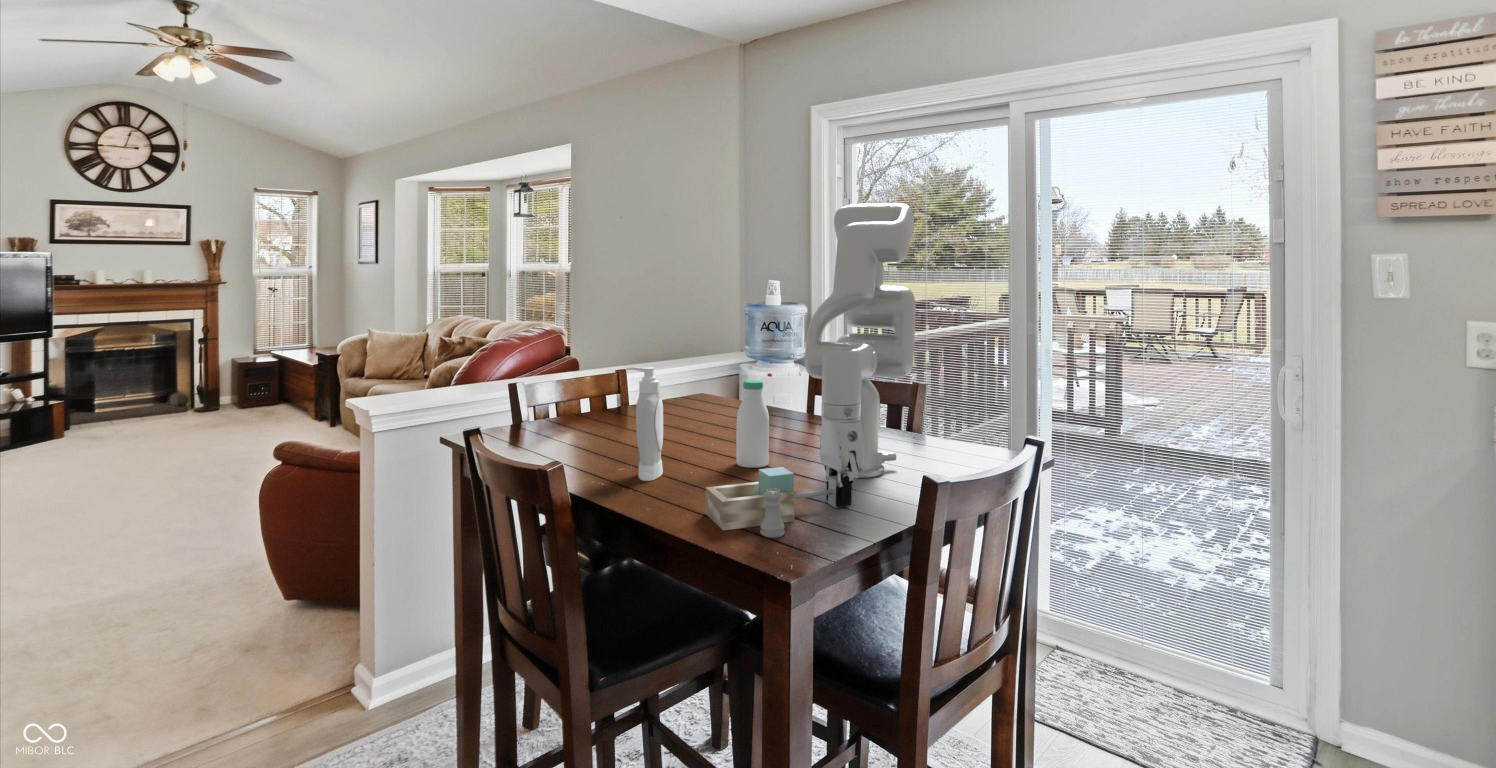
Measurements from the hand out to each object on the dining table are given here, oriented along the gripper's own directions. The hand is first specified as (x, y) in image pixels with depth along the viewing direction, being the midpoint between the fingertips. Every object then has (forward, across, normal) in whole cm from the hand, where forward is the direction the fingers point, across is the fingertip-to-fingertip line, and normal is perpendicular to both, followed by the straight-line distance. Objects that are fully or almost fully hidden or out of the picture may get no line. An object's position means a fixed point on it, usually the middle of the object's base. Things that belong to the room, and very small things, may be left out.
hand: (838, 502), depth 149 cm
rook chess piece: (+1, -10, +18) cm, 21 cm away
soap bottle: (+1, +35, +30) cm, 46 cm away
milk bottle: (+1, +35, +4) cm, 35 cm away
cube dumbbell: (+1, 0, +7) cm, 7 cm away
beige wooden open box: (+1, 0, +19) cm, 19 cm away
